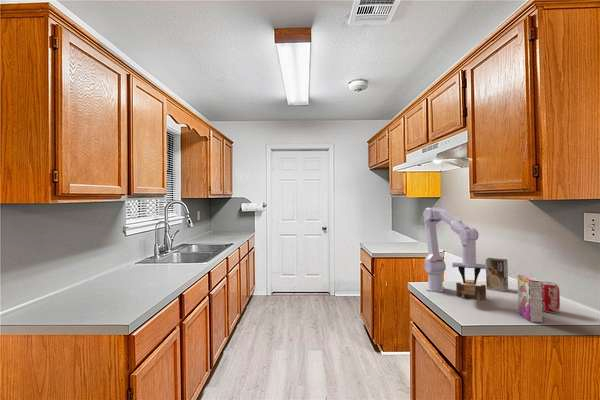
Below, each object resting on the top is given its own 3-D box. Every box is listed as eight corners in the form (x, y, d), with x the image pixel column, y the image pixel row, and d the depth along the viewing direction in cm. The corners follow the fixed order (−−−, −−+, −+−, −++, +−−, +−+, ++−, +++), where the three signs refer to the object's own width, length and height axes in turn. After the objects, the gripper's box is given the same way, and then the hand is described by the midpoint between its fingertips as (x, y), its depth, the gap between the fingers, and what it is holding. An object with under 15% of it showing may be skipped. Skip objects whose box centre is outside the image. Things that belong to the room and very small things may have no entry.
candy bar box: (517, 313, 146) (516, 274, 146) (530, 313, 145) (530, 274, 145) (529, 322, 135) (528, 280, 135) (543, 323, 134) (543, 280, 134)
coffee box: (508, 289, 183) (508, 259, 183) (504, 292, 178) (504, 261, 178) (490, 286, 189) (489, 257, 189) (485, 289, 185) (485, 259, 185)
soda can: (563, 312, 146) (562, 283, 146) (554, 315, 143) (554, 286, 143) (544, 307, 152) (544, 280, 152) (536, 310, 149) (535, 282, 149)
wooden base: (456, 295, 174) (456, 282, 174) (486, 298, 168) (485, 285, 168) (455, 297, 170) (455, 284, 170) (485, 301, 164) (485, 287, 164)
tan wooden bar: (466, 287, 170) (466, 279, 170) (475, 288, 168) (475, 280, 168) (464, 293, 157) (463, 284, 158) (474, 294, 155) (473, 285, 156)
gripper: (451, 254, 163) (452, 283, 163) (486, 256, 156) (487, 286, 156) (452, 252, 169) (453, 280, 169) (486, 254, 162) (487, 283, 162)
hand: (469, 283), depth 163 cm, fingers closed on tan wooden bar, 4 cm apart
